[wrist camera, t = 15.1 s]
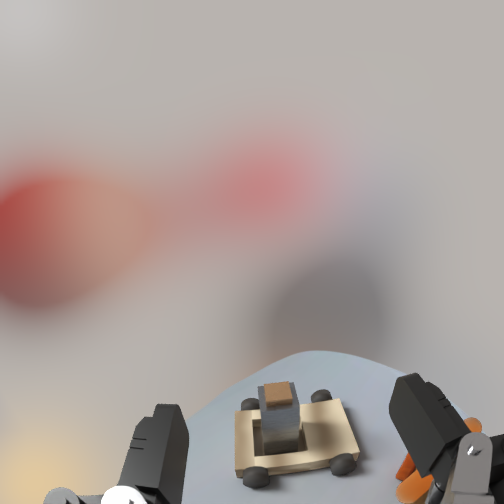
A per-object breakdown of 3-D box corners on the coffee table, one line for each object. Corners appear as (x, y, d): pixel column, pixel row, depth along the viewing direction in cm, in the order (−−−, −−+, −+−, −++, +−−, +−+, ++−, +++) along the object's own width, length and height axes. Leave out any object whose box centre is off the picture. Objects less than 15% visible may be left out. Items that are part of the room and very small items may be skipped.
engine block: (292, 428, 37) (293, 376, 33) (297, 451, 32) (300, 401, 29) (262, 432, 36) (257, 380, 33) (264, 455, 32) (259, 406, 29)
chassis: (334, 400, 42) (336, 386, 41) (360, 470, 28) (365, 459, 27) (236, 412, 42) (234, 399, 41) (237, 488, 27) (234, 478, 26)
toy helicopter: (455, 464, 23) (498, 398, 19) (388, 592, 8) (445, 575, 5) (407, 452, 28) (438, 385, 24) (325, 572, 14) (350, 552, 10)
